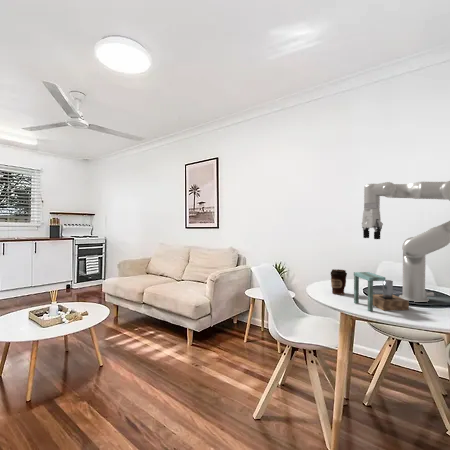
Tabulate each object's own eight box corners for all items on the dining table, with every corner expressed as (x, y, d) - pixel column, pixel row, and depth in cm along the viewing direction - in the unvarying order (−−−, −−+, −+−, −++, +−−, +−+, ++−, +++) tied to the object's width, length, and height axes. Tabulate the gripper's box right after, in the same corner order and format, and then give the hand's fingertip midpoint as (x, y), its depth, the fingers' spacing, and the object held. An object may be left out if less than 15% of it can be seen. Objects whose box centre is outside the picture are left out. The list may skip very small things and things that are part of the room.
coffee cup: (341, 296, 151) (341, 272, 151) (327, 293, 157) (327, 270, 157) (349, 293, 157) (349, 270, 156) (335, 290, 163) (335, 268, 163)
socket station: (390, 301, 141) (390, 271, 141) (409, 310, 128) (409, 276, 128) (353, 302, 139) (353, 272, 139) (369, 311, 126) (369, 277, 126)
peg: (380, 305, 136) (381, 279, 136) (388, 304, 136) (389, 279, 136) (386, 307, 132) (386, 281, 132) (394, 307, 132) (394, 281, 132)
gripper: (356, 207, 162) (356, 237, 163) (374, 206, 145) (374, 239, 146) (369, 207, 163) (368, 237, 163) (388, 206, 146) (388, 239, 146)
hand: (371, 238), depth 155 cm, fingers open, 9 cm apart
